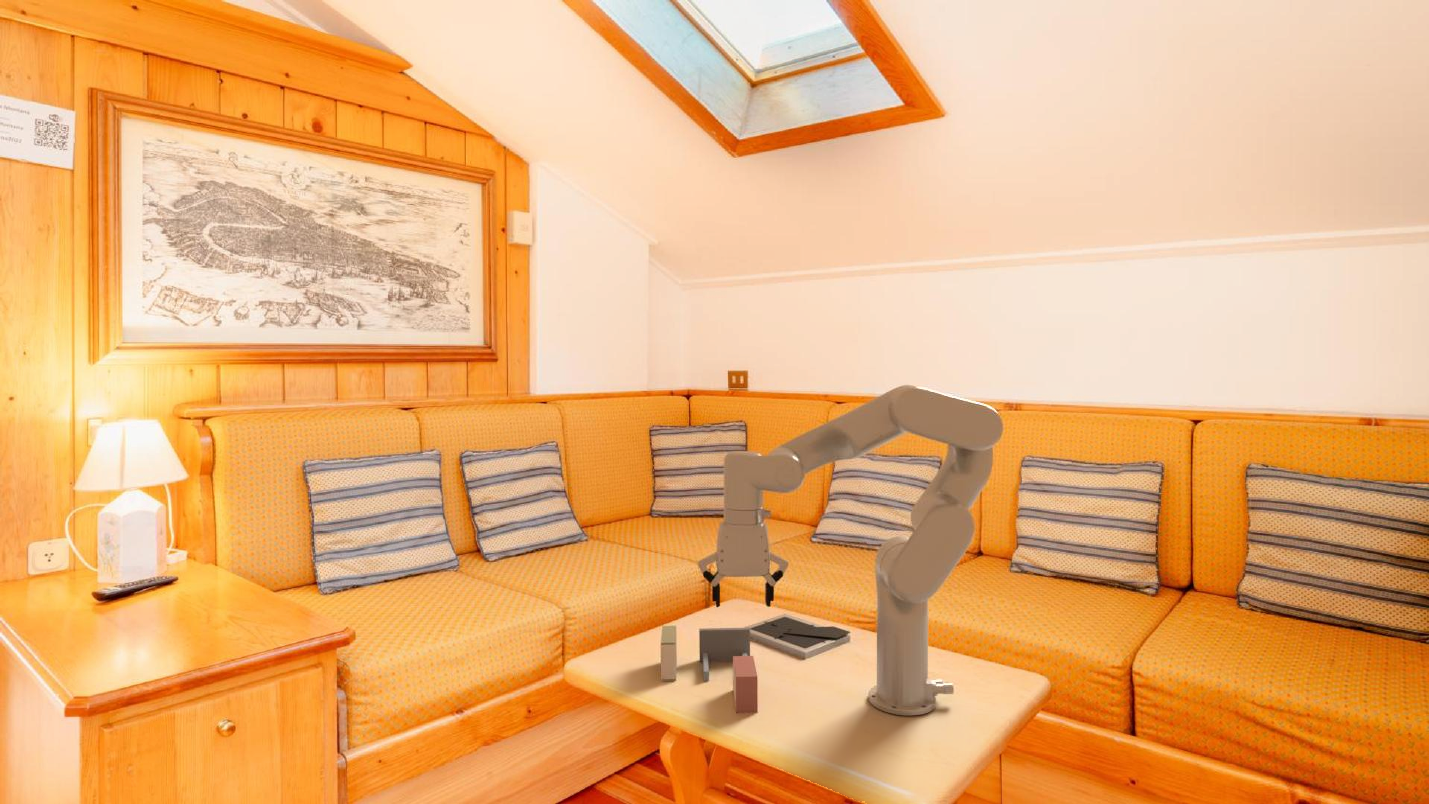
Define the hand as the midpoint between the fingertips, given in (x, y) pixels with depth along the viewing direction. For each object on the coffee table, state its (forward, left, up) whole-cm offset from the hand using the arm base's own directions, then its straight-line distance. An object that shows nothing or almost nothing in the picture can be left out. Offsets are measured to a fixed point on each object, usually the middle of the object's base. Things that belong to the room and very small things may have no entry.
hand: (742, 604), depth 149 cm
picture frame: (-14, -33, -20) cm, 41 cm away
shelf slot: (+3, -15, -19) cm, 24 cm away
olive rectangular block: (+15, -15, -19) cm, 28 cm away
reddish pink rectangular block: (0, 0, -19) cm, 19 cm away
